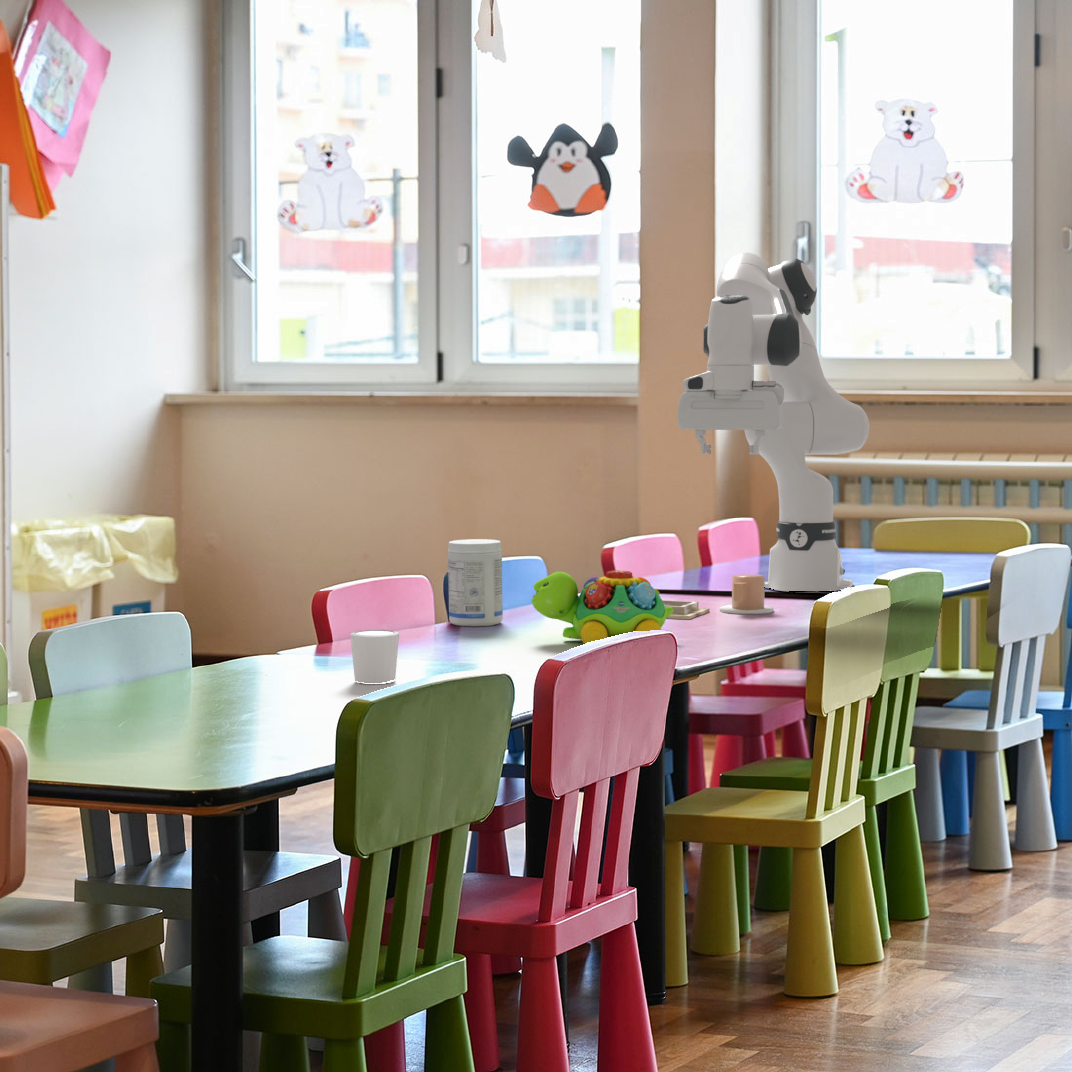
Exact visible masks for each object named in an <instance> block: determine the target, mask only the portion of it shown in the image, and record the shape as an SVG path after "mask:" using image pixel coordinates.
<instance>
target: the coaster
mask: <svg viewBox="0 0 1072 1072" xmlns="http://www.w3.org/2000/svg"><path fill="white" fill-rule="evenodd" d="M774 611H775V610H774V607H772V606H769V605H764V609H759V610H740V609H733V608H732V604H728V605H723V606H719V612H721V613H724V614H734V615H765V614H766V615H767V614H772V613H774Z"/></svg>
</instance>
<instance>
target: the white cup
mask: <svg viewBox="0 0 1072 1072" xmlns="http://www.w3.org/2000/svg"><path fill="white" fill-rule="evenodd" d="M349 635H350V636H349V637H350V645H351V646H350V647H351V654H352V664H353V665H352V666H353V667H352V668H353V675H354V682H355V681H358V682H364V683H382V682H387V681H390V680H394V679H395V680H396V678H397V677H396V674H397V665H398V663H397V662H398V653H399V652H398V651H399V639H400V632H398V631H394V630H389V629H388V630H386V629H366V630H359V631H353V632H351V633H350V634H349Z"/></svg>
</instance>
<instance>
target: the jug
mask: <svg viewBox="0 0 1072 1072" xmlns="http://www.w3.org/2000/svg"><path fill="white" fill-rule="evenodd" d="M731 578H732V579H731V580H732V581H731V605H732V608H733V609H740V610H759V609H764V606H765V588H764V582H766V581H765V575H762V574H750V573H749V574H745V573H744V574H732V576H731Z"/></svg>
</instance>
